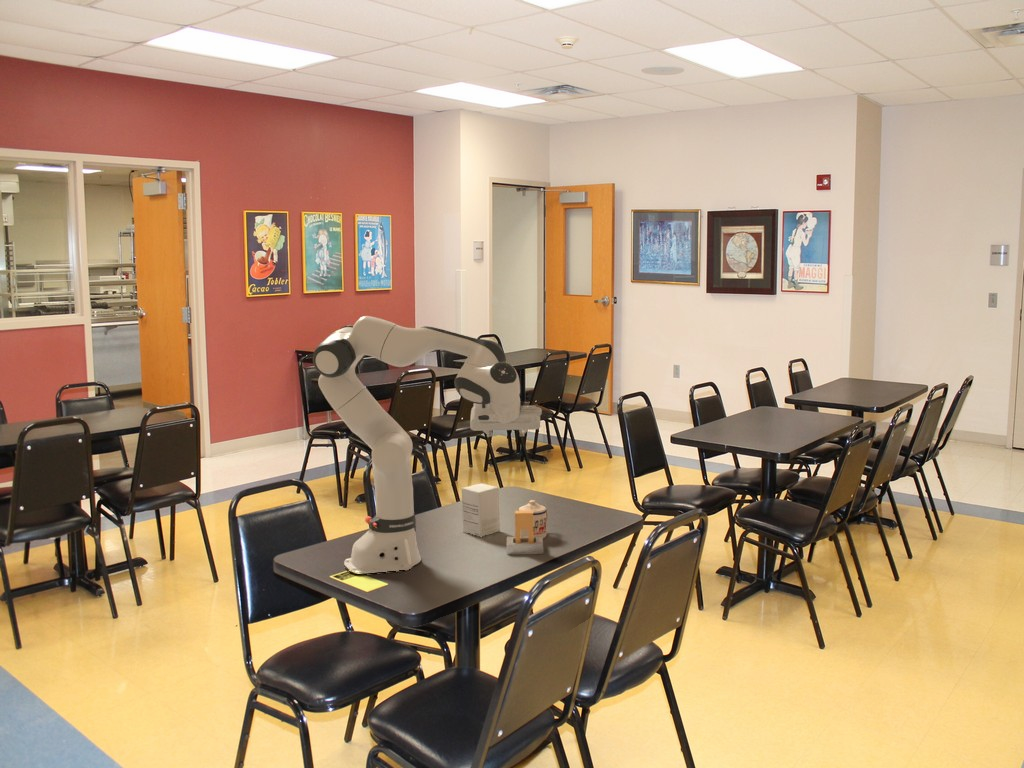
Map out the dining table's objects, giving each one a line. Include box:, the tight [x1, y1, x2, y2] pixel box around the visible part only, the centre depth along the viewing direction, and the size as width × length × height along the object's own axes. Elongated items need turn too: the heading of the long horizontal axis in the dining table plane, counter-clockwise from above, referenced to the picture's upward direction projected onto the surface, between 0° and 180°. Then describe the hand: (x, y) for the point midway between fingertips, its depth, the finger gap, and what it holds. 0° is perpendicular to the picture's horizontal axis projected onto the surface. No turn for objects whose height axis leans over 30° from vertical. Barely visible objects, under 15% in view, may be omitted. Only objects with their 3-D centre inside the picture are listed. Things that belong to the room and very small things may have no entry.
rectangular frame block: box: [506, 536, 544, 555], centre depth 270 cm, size 8×11×3 cm
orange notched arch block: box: [514, 510, 534, 543], centre depth 269 cm, size 6×3×12 cm, turn 89°
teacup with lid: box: [517, 499, 549, 539], centre depth 284 cm, size 12×9×12 cm
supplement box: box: [461, 482, 501, 538], centre depth 289 cm, size 9×9×15 cm
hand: (505, 434), depth 258 cm, fingers open, 8 cm apart
